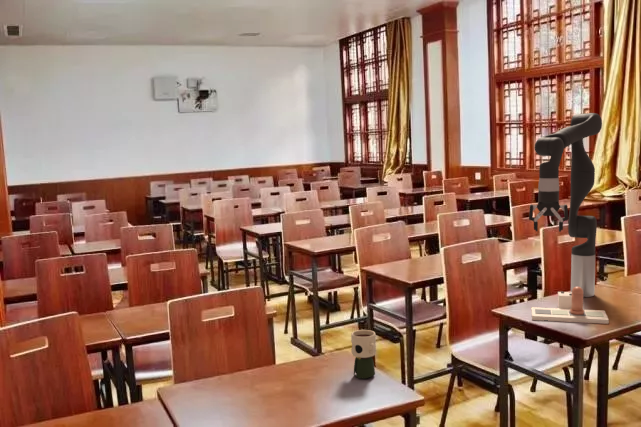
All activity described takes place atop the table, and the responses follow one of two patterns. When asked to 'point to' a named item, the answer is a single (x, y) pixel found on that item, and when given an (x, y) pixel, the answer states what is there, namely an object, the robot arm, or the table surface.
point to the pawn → (577, 301)
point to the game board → (569, 315)
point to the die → (564, 300)
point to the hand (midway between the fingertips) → (548, 231)
